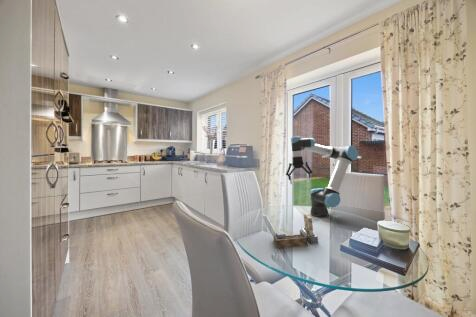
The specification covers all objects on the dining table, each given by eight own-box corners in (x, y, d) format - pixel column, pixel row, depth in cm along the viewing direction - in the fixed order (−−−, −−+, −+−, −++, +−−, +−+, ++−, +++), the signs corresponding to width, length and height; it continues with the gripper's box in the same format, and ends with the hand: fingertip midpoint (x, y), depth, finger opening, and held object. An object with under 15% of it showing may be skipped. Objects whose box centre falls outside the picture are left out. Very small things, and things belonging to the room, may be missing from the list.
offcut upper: (283, 235, 132) (283, 231, 132) (286, 238, 128) (285, 234, 127) (276, 236, 132) (275, 232, 132) (278, 239, 127) (277, 235, 127)
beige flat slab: (314, 241, 126) (311, 218, 126) (310, 241, 126) (308, 218, 126) (308, 234, 137) (306, 212, 137) (305, 234, 137) (303, 213, 137)
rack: (302, 237, 133) (301, 229, 133) (307, 245, 121) (307, 237, 121) (274, 239, 134) (273, 232, 134) (277, 248, 122) (276, 240, 121)
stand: (301, 233, 139) (301, 227, 139) (309, 232, 139) (309, 226, 139) (309, 243, 123) (308, 237, 123) (318, 242, 123) (317, 236, 123)
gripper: (311, 154, 157) (314, 181, 158) (280, 157, 158) (283, 184, 159) (315, 154, 150) (317, 182, 150) (282, 158, 151) (285, 185, 151)
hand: (299, 183), depth 155 cm, fingers open, 13 cm apart
